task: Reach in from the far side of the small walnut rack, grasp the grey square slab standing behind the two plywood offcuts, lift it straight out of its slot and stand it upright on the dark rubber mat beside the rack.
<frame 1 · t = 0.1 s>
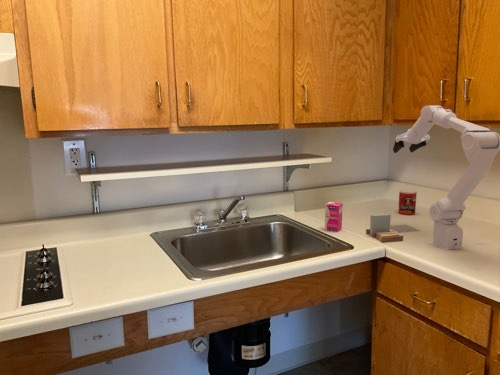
hand: (402, 150, 167), 32 cm above the countertop, tool tilted 50°, fingers open, 7 cm apart
grey square slab: (379, 234, 157), point 1 cm above the countertop, touching walnut rack
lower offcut: (387, 239, 152), point 1 cm above the countertop, touching upper offcut, walnut rack
rubber mat: (402, 229, 166), on the countertop
walnut rack: (383, 238, 155), on the countertop
upper offcut: (387, 236, 152), point 2 cm above the countertop, touching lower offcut
canned food: (406, 213, 195), on the countertop
supplement box: (333, 231, 166), on the countertop
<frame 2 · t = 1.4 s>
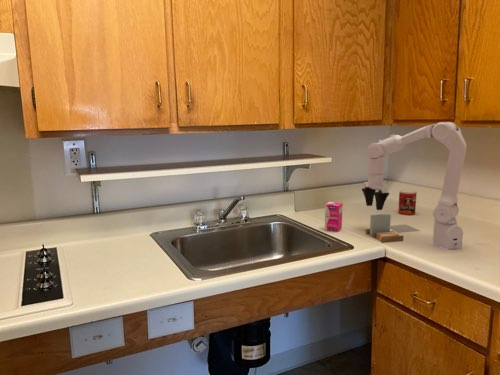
hand: (374, 207, 160), 10 cm above the countertop, tool pointing down, fingers open, 7 cm apart
nothing on the countertop moved.
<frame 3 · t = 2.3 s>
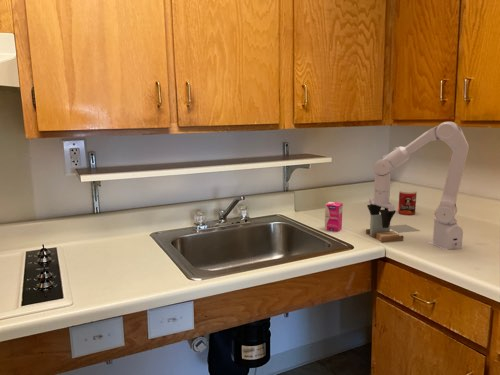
hand: (380, 225, 157), 5 cm above the countertop, tool pointing down, fingers open, 7 cm apart
nothing on the countertop moved.
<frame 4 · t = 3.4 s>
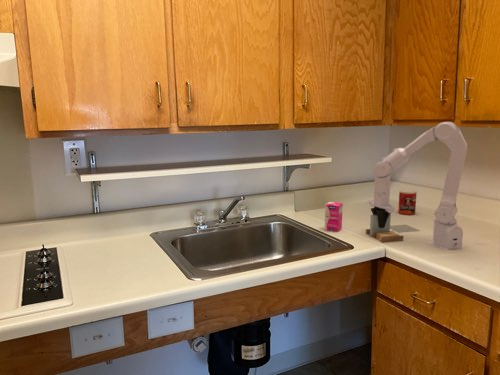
hand: (380, 227, 157), 4 cm above the countertop, tool pointing down, fingers closed on grey square slab, 2 cm apart
grey square slab: (379, 234, 157), point 1 cm above the countertop, touching gripper, walnut rack
everything else where it was.
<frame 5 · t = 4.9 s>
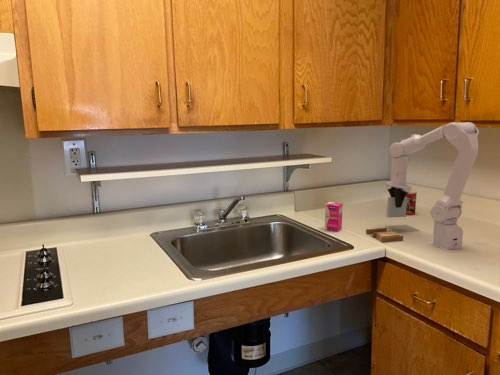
hand: (396, 206, 162), 10 cm above the countertop, tool pointing down, fingers closed on grey square slab
grey square slab: (396, 216, 162), point 6 cm above the countertop, touching gripper
everything else where it was.
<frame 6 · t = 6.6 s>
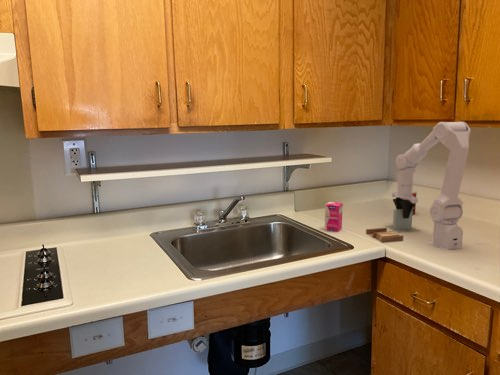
hand: (403, 217, 165), 5 cm above the countertop, tool pointing down, fingers open, 3 cm apart
grey square slab: (402, 228, 166), point 1 cm above the countertop, touching rubber mat
everything else where it was.
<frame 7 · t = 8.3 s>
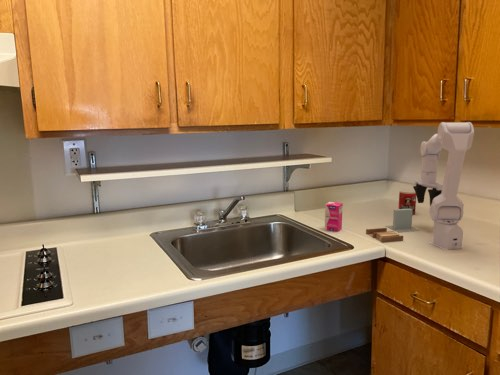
hand: (426, 204, 165), 10 cm above the countertop, tool pointing down, fingers open, 7 cm apart
nothing on the countertop moved.
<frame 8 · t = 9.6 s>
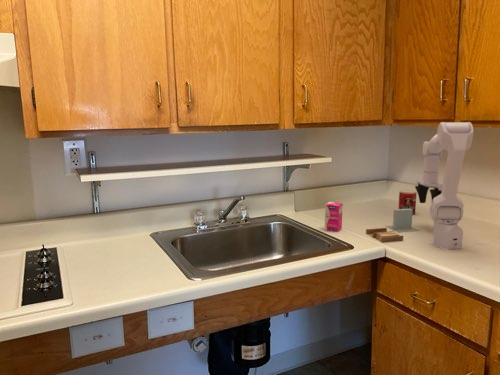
hand: (428, 204, 165), 10 cm above the countertop, tool pointing down, fingers open, 7 cm apart
nothing on the countertop moved.
at the end: grey square slab inside the target area (0.2 cm from its centre), point 0.6 cm above the countertop; grey square slab tilted 0°; upper offcut moved 0.0 cm from its start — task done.
